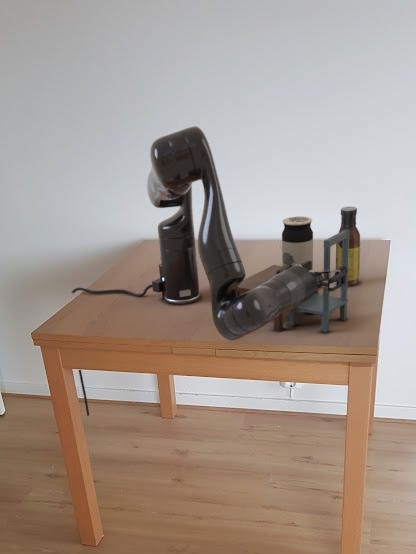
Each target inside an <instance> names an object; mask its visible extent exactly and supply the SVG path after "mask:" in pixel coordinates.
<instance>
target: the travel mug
mask: <svg viewBox="0 0 416 554" xmlns="http://www.w3.org/2000/svg"><path fill="white" fill-rule="evenodd" d="M312 222H313V219H312V217H309V216H303V215H302V216H297V215H296V216H290V217H286V218H284V219H283V220H282V224H283V228H284V229H283V230H282V232H281V255H282V256H281V258H282V259H281V260H282V263H281V266H285V265H287V264H292V266H295V265H296V264H302V263H304V262H306V261H308V260H309V261H312V270H314V231H313V229H312V227H311V226H312Z"/></svg>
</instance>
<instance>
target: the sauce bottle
mask: <svg viewBox="0 0 416 554" xmlns="http://www.w3.org/2000/svg"><path fill="white" fill-rule="evenodd" d="M357 213H358V208H357V207H356V206H343V207H342V208H340V217H341V219H340V220H341V223H340V227H339V231H338V233H340V232H342V231H343V230H349V252H348V282H347V287H351V286H354V285H358V284H359V282H360V281H359V280H360V275H361V272H360V271H361V233H360V230H359V229H358V227H357ZM342 241H343V240H342ZM342 241H340V242H338V243H336V244H335V270H336V269H338V268H339V267H341V266H342Z"/></svg>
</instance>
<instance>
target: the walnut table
mask: <svg viewBox="0 0 416 554" xmlns="http://www.w3.org/2000/svg"><path fill="white" fill-rule="evenodd" d="M282 267H284V266H282V265H278V264H277V265H276V264H272V265H271V266H269V267H267V268H265V269H263V270H261V271H259V272H257V273H255V274H253V275H251V276H249V277H247V278H244V280H243V281H242V282H241V283H240V284H239V286H238V287H237V290H236V296H237V297H238V296H240V295H242V294H244V293H246V292H248V291H250V290H252V289H255V288H256V287H258V286H259V285H261V284H263V283H265V282H267V281H268V280H269V279H271V278H272V277H273V276H275V275H276V271H277V270H279V269H280V268H282ZM314 293H316V294H319V289H317V290H315V292H314ZM283 315H284V313H283V314H281V315H279V316H278V317H276V318H274V319H273V330H274V331H275V332H281V331H282V330H284V317H283Z"/></svg>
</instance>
